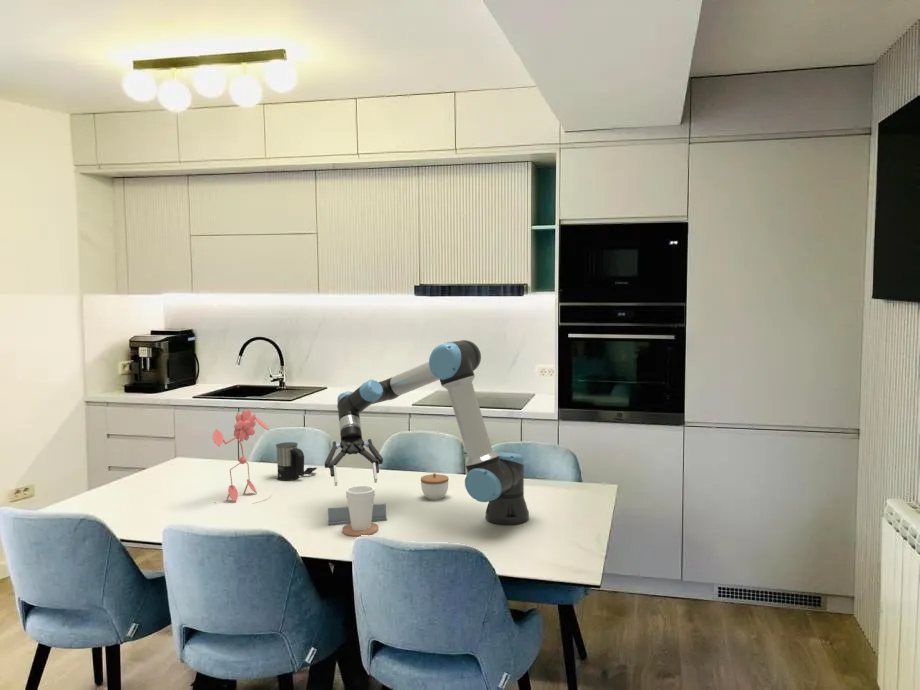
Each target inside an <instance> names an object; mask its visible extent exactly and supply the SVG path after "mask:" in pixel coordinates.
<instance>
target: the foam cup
mask: <svg viewBox="0 0 920 690" xmlns="http://www.w3.org/2000/svg"><path fill="white" fill-rule="evenodd" d="M375 493H376V492H375V487H373V486H370V485H353V486H351V487H347V488H346V489H345V495H346V500H347V501H346V502H347V506H348V507H349V513H350V520H351V526H352V529H353V530H367V529H369V528H370V527H371V520H372V511H373V504H374V501H375V500H374V499H375V495H376V494H375Z"/></svg>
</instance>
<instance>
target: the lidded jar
mask: <svg viewBox="0 0 920 690" xmlns="http://www.w3.org/2000/svg"><path fill="white" fill-rule="evenodd" d="M420 485H421V486H420V487H421V491H422V494H423V495H424V496H425V497H426V499H427V500H431V501H432V500H433V501H436V500H441V499H443V498H444V496H445V495H446V494H447V492H448V490H449V477H448V475H445V474H440V473H439V474H438V473H435V472H434V473H432V474H427V475H422V476H421V477H420Z"/></svg>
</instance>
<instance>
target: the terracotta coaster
mask: <svg viewBox="0 0 920 690" xmlns="http://www.w3.org/2000/svg"><path fill="white" fill-rule="evenodd" d="M378 532H379V525H378V524H377V523H375V522H371V527H370V528H369V529H367V530H353V529H352V526H351V523H350V524H344V526H342V534H344V535H345V536H349V537H362V536H361V535H368V536H371V535H374V534H376V533H378Z"/></svg>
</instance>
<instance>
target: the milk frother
mask: <svg viewBox="0 0 920 690" xmlns="http://www.w3.org/2000/svg"><path fill="white" fill-rule="evenodd" d="M298 445H299V444H298V442H293V441H291V442H290V441H286V442H279V443H277V444H275V446H276V447H275V448H276V463H277V478H276V479H277V480H278V481H294V480H298V479H299V478H300V476H303V475H306V474H308V475H310V474H311V473H313V472H314V471H316V470H317V469H318V468H317V467H307V468H306V469H305V455H304V452H303V449H300V448H298Z"/></svg>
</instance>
